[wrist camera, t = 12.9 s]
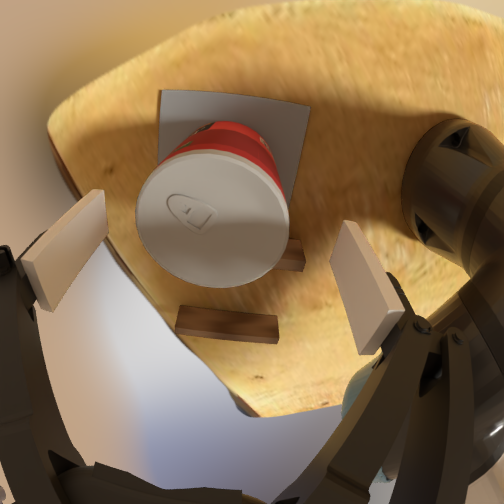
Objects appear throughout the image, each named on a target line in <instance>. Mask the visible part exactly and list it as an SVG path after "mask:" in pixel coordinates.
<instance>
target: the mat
mask: <svg viewBox="0 0 504 504" xmlns="http://www.w3.org/2000/svg"><path fill="white" fill-rule="evenodd" d="M310 109H311V107H310V106H305V105H301V104H296V103H291V102H285V101H280V100H274V99H268V98H262V97H255V96H247V95H239V94H230V93H220V92H208V91H191V90H162V96H161V108H160V122H159V141H158V165H159V164H160V163H161V162H162V161H163V160H164V159H165V158H166V157H167V156H168V155H169V154H170V153H171V152H172V151H173V150H174V149H175V148H176V147H177V146H178V145H180V144H181V143H182V142H183V141H184V140H185V139H186V138H187V137H188V136H189V135H191V134H192V133H193V132H194V131H196V130H197V129H198V128H200V127H202V126H204V125H206V124H209V123H213V122H217V121H231V122H236V123H240V124H243V125H245V126H248V127H249V128H251V129H253V130H254V131H256V132H257V133H258V134H259V135H260V136H261V137H262V138H263V139H264V140H265V142H266V143H267V144H268V146H269V148H270V150H271V152H272V154H273V158H274V161H275V164H276V168H277V171H278V174H279V178H280V181H281V184H282V188H283V191H284V195H285V199H286V204H287V208H288V209H289V204H290V200H291V196H292V191H293V187H294V183H295V178H296V174H297V169H298V165H299V160H300V156H301V151H302V147H303V142H304V137H305V133H306V128H307V123H308V118H309V114H310Z"/></svg>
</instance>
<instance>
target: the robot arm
mask: <svg viewBox="0 0 504 504" xmlns="http://www.w3.org/2000/svg"><path fill="white" fill-rule="evenodd" d="M401 200H402V209H403V214H404V217H405V220H406V222H407V224H408V226H409V228H410V229H411V231H412V232H413V233H414V234H415V236H416V237H417V238H418V239H419V241H420V242H421V243H422V244H423V245H424V246H425V247H427V248H428V249H429V250H431V251H433V252H435V253H437V254H438V255H440V256H442V257H444V258H446V259H448V260H449V261H451V262H453V263H455V264H457V265H458V266H460V267H462V268H463V269H464V270H465V271H466V273H467V274H468V275H469V276H470V280H469V281H468V282H467V283H466V284H465V285H464V286H463V287H462V288H461V289H460V290H459V291H458V292H456V293H455V294H454V295H453V296H452V297H451V298H450V299H449V300H447V301H446V302H445V303H444V304H443V305H442V306H441V307H440V308H439V309H437V310H436V311H435V312H434V313H433V314H432V315H430V316H429V317H428V318H427V319H425V318H423V317H421V316H419V315H415V313H414V311H413V309H412V307H411V305H410V303H409V301H408V299H407V297H406V295H405V293H404V291H403V290H402V289H401V286H400V284H399V282H398V281H397V279H396V278H395V277H394V276H393V275H392V274H391V273H389V272H385V270H384V268H383V267H382V265H381V263H380V261H379V259H378V258H377V256H376V254H375V252H374V251H373V249H372V247H371V246H370V244H369V242H368V241H367V239H366V237H365V236H364V234H363V232H362V231H361V229H360V227H359V226H358V224H357V223H356V222H353V221H348V220H343V223H342V226H341V229H340V232H339V235H338V238H337V241H336V244H335V246H334V249H333V252H332V255H331V257H330V260H329V262H330V265H331V267H332V270H333V273H334V276H335V279H336V282H337V285H338V288H339V291H340V294H341V297H342V300H343V303H344V307H345V310H346V313H347V316H348V320H349V323H350V326H351V329H352V333H353V336H354V340H355V343H356V347H357V350H358V354H359V355H374V354H375V353H376V351H377V350H378V349H379V347H380V346H381V349H382V352H381V354H380V355H379V356H377V357H376V358H375V359H373V360H372V361H371V362H369V363H368V364H367V365H365V366H364V367H363V368H361V369H360V370H359V371H358V372H357V373H356V374H355V375H354V376H353V377H352V379H351V380H350V382H349V384H348V386H347V388H346V391H345V394H344V398H343V402H342V411H341V414H342V421H341V423H340V424H339V425H338V427H337V428H336V430H335V431H334V433H333V434H332V435H331V437H330V438H329V439H328V441H327V442H326V444H325V445H324V446H323V448H322V449H321V450H320V452H319V453H318V454H317V455H316V457H315V458H314V459H313V460H312V462H311V463H310V464H309V466H307V468H306V469H305V470H304V471H303V472H302V474H301V475H300V476H299V477H298V478H297V479H296V480H295V481H294V482H293V483H292V484H291V485H290V486H288V487H287V488H286V489H285V490H284V491H283V492H282V493H281V494H280V495H279V496H278V497H277V498H276V499H275V500H274V501H273V502H272V503H271V504H368V502H369V500H370V494H369V491H368V490H369V487H370V485H371V483H378V482H380V483H381V482H383V483H389V482H390V481H392V480H393V479H395V478H397V479H396V483H395V486H394V490H393V493H392V496H391V499H390V502H389V504H504V145H503V144H502V143H501V142H500V141H499V140H498V139H497V138H496V137H495V136H494V135H493V134H492V133H491V132H490V131H489V130H487V129H486V128H484V127H482V126H480V125H478V124H475V123H473V122H470V121H467V120H463V119H451V120H447V121H444V122H442V123H439V124H438V125H436V126H435V127H433V128H432V129H431V130H429V131H428V132H427V133H426V134H425V135H424V136H423V138H422V139H421V140H420V141H419V143H418V144H417V146H416V147H415V149H414V151H413V152H412V154H411V156H410V159H409V161H408V164H407V166H406V169H405V173H404V177H403V183H402V193H401ZM108 233H109V230H108V222H107V214H106V205H105V195H104V190H100V189H92V190H91V191H90V192H89V193H88V194H86V195H85V196H84V197H83V198H82V199H81V200H79V201H78V202H77V203H76V204H75V205H74V206H73V207H72V208H71V209H69V210H68V211H67V212H66V213H65V214H64V215H63V216H62V217H61V218H60V219H59V220H58V221H56V222H55V223H54V224H53V225H52V226H51V227H50V228H49V229H48V230H46V231H45V232H43V233H42V234H40V235H39V236H38V237H37V238H36V239H35V240H34V242H32V243H31V244H30V245H29V247H27V248H26V250H25V251H24V252H23V253H22V254H21V255H20V256H19V257H18V259H17V260H16V261H14V258H13V255H12V252H11V249H10V247H9V246H7V245H3V246H0V462H1V465H2V468H3V471H4V473H5V477H6V479H7V482H8V484H9V487H10V490H11V492H12V495H13V497H14V499H15V502H14V503H12V504H267V503H265V502H263V501H261V500H259V499H257V498H254V497H252V496H249V495H245V494H242V490H229V489H216V488H207V487H203V488H202V487H201V488H189V489H172V490H171V489H170V490H168V489H167V490H166V489H162V488H159V487H157V486H155V485H153V484H150V483H148V482H146V481H144V480H142V479H140V478H138V477H136V476H134V475H132V474H131V473H129V472H126V471H122V470H119V469H116V468H113V467H110V466H107V465H104V464H101V463H98V462H95V465H94V466H86V464H85V462H84V460H83V458H82V457H81V455H80V454H79V452H78V451H77V450H76V448H75V447H74V446H73V444H72V442H71V440H70V438H69V436H68V434H67V431H66V428H65V426H64V423H63V420H62V418H61V415H60V412H59V409H58V406H57V403H56V400H55V397H54V394H53V391H52V387H51V384H50V380H49V376H48V373H47V369H46V365H45V360H44V356H43V351H42V346H41V341H40V336H39V330H38V324H37V317H36V310H35V308H34V306H33V304H34V302H35V301H36V300H37V301H38V303H39V305H40V307H41V309H43V310H46V311H49V312H54V310H55V309H56V307H57V306H58V304H59V302H60V301H61V299H62V298H63V296H64V294H65V293H66V291H67V290H68V288H69V287H70V285H71V284H72V282H73V281H74V279H75V278H76V276H77V275H78V273H79V272H80V271H81V269H82V268H83V266H84V265H85V264H86V262H87V261H88V259H89V258H90V257H91V255H92V254H93V253H94V251H95V250H96V249H97V247H98V246H99V245H100V243H101V242H102V241H103V239H104V238H105V237H106V236H107V234H108ZM5 498H6V494H5V491H4V489H3V488H2V487H1V486H0V504H3V503H2V500H5Z"/></svg>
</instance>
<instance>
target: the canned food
mask: <svg viewBox="0 0 504 504" xmlns="http://www.w3.org/2000/svg"><path fill="white" fill-rule="evenodd" d="M135 218H136V226H137V230H138V234H139V237H140V239H141V241H142V243H143V245H144V247H145V249H146V250H147V252H148V253H149V254H150V256H151V257H152V258H153V259H154V260H155V261H156V262H157V263H158V264H159V265H160V266H161V267H162V268H163V269H165V270H166V271H168V272H169V273H171V274H172V275H174V276H176V277H178V278H180V279H182V280H184V281H186V282H189V283H192V284H195V285H198V286H204V287H210V288H228V287H236V286H240V285H244V284H247V283H250V282H252V281H254V280H256V279H258V278H260V277H262V276H263V275H264V274H266V273H267V272H268V271H270V270H271V269H272V268H273V267H274V266H275V264H276V263H277V262H278V261H279V260H280V258H281V256H282V254H283V253H284V251H285V249H286V245H287V242H288V238H289V214H288V208H287V204H286V199H285V195H284V191H283V188H282V184H281V181H280V178H279V174H278V171H277V168H276V164H275V161H274V158H273V154H272V152H271V150H270V148H269V146H268V144H267V143H266V142H265V140H264V139H263V138H262V137H261V136H260V135H259V134H258V133H257V132H256V131H254V130H253V129H251V128H249V127H248V126H245V125H243V124H240V123H236V122H231V121H217V122H213V123H209V124H206V125H204V126H202V127H200V128H198V129H197V130H196V131H194V132H193V133H192V134H191V135H189V136H188V137H187V138H186V139H185V140H184V141H183V142H182V143H181V144H180V145H178V146H177V147H176V148H175V149H174V150H173V151H172V152H171V153H170V154H169V155H168V156H167V157H166V158H165V159H164V160H163V161H162V162H161V163H160V164H159V165H158V166H157V167H156V168H155V169H154V170H153V172H152V173H151V174H150V176H149V177H148V178H147V180H146V181H145V183H144V185H143V186H142V189H141V191H140V193H139V196H138V198H137V203H136V209H135Z"/></svg>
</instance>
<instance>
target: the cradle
mask: <svg viewBox="0 0 504 504" xmlns="http://www.w3.org/2000/svg"><path fill="white" fill-rule="evenodd" d="M305 263H306V260H305V256H304V252H303V248H302V245H301V241H300V240H295V239H288V242H287V245H286V249H285V251H284V253H283V254H282V256H281V258H280V260H279V261H278V262H277V263H276V264H275V266H274V267H273V268H272V269H280V270H289V271H299V272H303V269H304V266H305ZM175 334H182V335H189V336H196V337H204V338H213V339H222V340H231V341H242V342H253V343H267V344H277V343H278V341H279V329H278V318H277V316H272V315H260V314H249V313H239V312H230V311H221V310H212V309H204V308H196V307H189V306H181V305H180V308H179V312H178V316H177V320H176V324H175Z"/></svg>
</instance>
